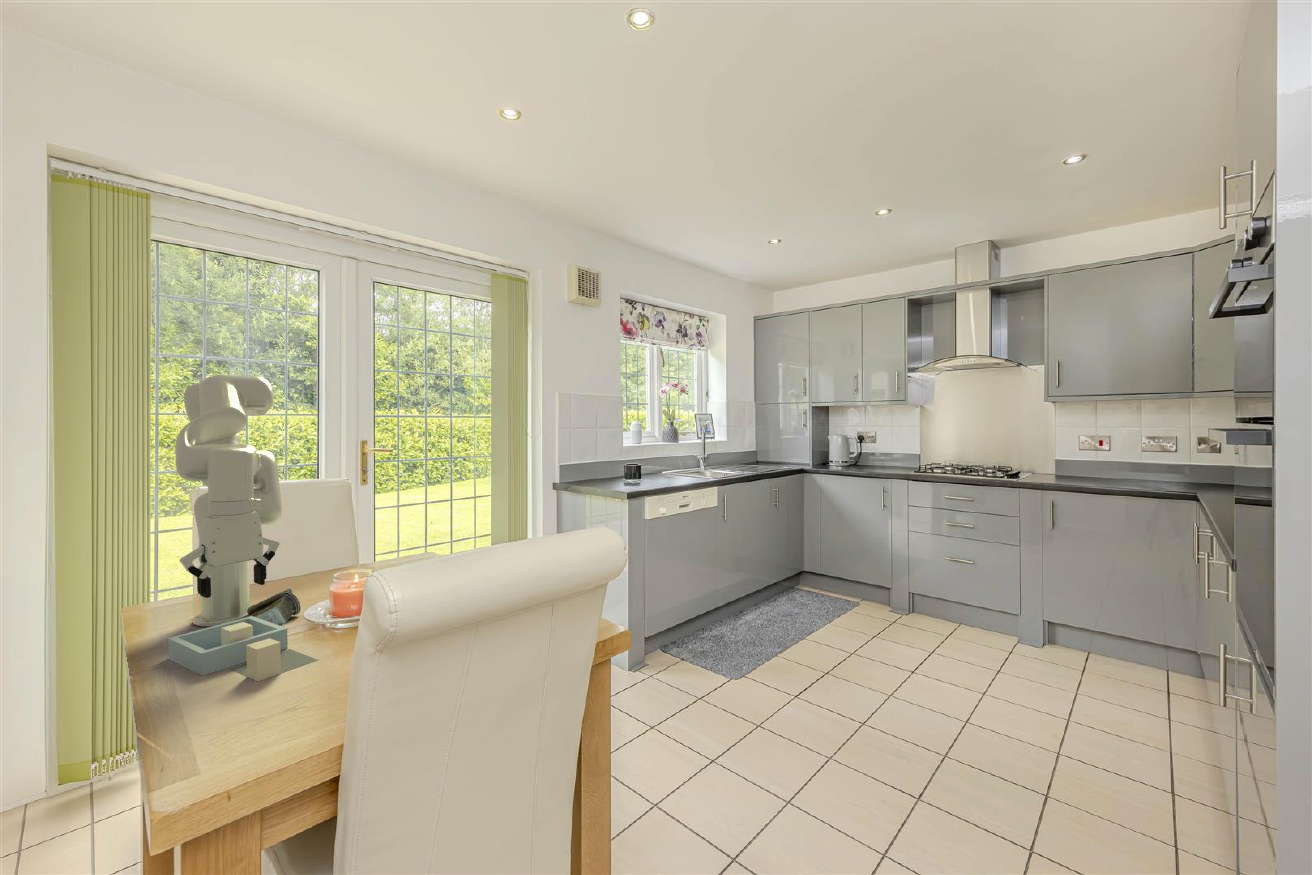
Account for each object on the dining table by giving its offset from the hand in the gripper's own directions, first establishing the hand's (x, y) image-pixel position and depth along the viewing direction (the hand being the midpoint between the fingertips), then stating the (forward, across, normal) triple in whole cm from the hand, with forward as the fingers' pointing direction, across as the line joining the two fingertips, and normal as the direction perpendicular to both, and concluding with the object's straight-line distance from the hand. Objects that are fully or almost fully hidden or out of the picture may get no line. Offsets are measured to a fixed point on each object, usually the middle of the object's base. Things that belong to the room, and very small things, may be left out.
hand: (233, 589), depth 117 cm
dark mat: (+13, -2, +13) cm, 19 cm away
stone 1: (+13, 0, +2) cm, 13 cm away
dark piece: (+15, -13, -15) cm, 25 cm away
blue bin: (+14, 0, -1) cm, 14 cm away
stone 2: (+13, +2, +16) cm, 21 cm away
